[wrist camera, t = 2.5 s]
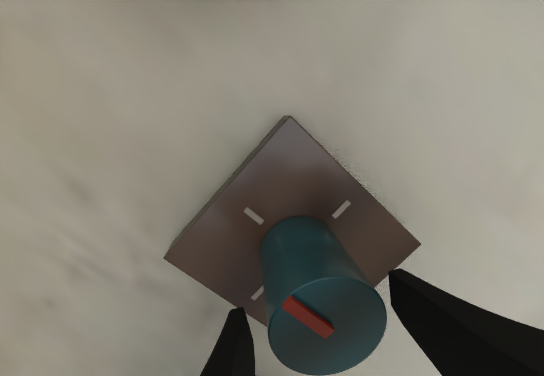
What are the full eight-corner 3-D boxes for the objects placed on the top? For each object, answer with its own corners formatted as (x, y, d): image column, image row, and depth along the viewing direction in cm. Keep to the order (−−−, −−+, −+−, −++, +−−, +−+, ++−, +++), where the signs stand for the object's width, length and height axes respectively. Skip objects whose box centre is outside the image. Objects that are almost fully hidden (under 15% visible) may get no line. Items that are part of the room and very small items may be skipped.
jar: (351, 246, 17) (415, 326, 11) (299, 297, 18) (329, 400, 11) (297, 199, 16) (333, 257, 9) (243, 256, 17) (242, 346, 10)
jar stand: (403, 230, 20) (423, 245, 18) (299, 329, 22) (305, 354, 19) (284, 115, 17) (290, 115, 14) (172, 242, 18) (161, 259, 16)
